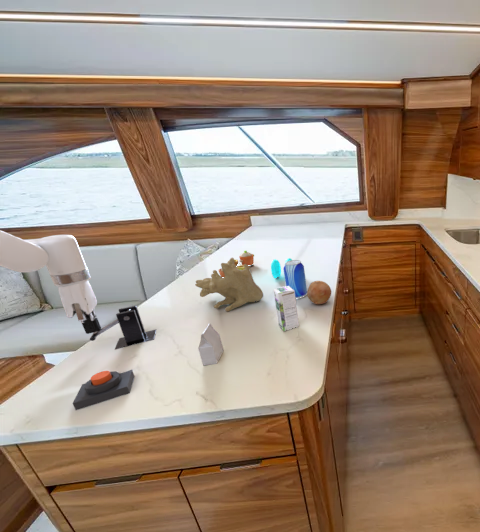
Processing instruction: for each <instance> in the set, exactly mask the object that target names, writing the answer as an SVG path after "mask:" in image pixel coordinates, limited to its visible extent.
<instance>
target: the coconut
mask: <svg viewBox="0 0 480 532" xmlns="http://www.w3.org/2000/svg"><path fill="white" fill-rule="evenodd" d="M306 295H307V298H308V300H309V301H310V302H311V303H313V304H315V305H323V304H326V303H327V302H328V301H329V300H330V298H331V296H332V289H331V287H330V285H329V284H328V283H327V282H325V281H323V280H314V281H312V282H311V283H310V284H309V286H308V288H307V294H306Z"/></svg>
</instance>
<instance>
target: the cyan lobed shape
mask: <svg viewBox="0 0 480 532" xmlns="http://www.w3.org/2000/svg"><path fill="white" fill-rule="evenodd" d="M291 260H293V259H292V258H291V257H289V258H286V259H285V261H284V263H285V262H287V261H291ZM270 271H271V275H272V277H273V278H274V279H275V278H277V277H279V276H280V277H281V274H282V268H281V263H280V261H279V260H278V259H276V258H275V259H272V261H271V262H270ZM280 277H279V278H280ZM277 279H278V278H277Z"/></svg>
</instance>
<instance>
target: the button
mask: <svg viewBox="0 0 480 532" xmlns="http://www.w3.org/2000/svg"><path fill="white" fill-rule="evenodd" d="M110 372H111V371H110V370H102V371H99V372H97V373H95V374H93V375H92V376H91V377H90V379H91V381H92V384H93V385H99V384H103V383H105V382H107V381H109V380H110V379H112V376H111V373H110Z"/></svg>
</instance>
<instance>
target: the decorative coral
mask: <svg viewBox="0 0 480 532" xmlns="http://www.w3.org/2000/svg"><path fill="white" fill-rule="evenodd" d="M234 259H235V258H234V257H230V259H229V260H228V261H229V262H228V261H227V262H228V263H227V262H221V263H220V266H221V268H222V270H223V272H224V274H225V277H224V278H222V277H221V276H220V273H219V272H218V271H217V270H216V269H213V270H212V273H211V275H210V277H205V278H203V279H196V280H195V287H197V288H199V289H201V290H200V292H199V297H201V298H204V297H207V296H208V295H210V294H219V295H221V296H222V297H224V299H223V300H219V301H217V302H216V304H214V305H213V309H219V308H220V307H221V306H226V307H225V308H224V311H225V312H227V313H228V312H231V311H232V310H233V309H236V308H240V307H241V306H243V305H245V304H247V303H256V302H260V301H261V300H262V299H263V298H264V293H263V290H262V289H261V287H260V286H259V285H257V283H256V282H255V280H254V277H253V274H252V272H251V267H250V266H247V264H244V267H245V269H244V270H239V269H238V268H237V267H236V265H235V261H234ZM226 263H227V264H226ZM255 301H256V302H255Z"/></svg>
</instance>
